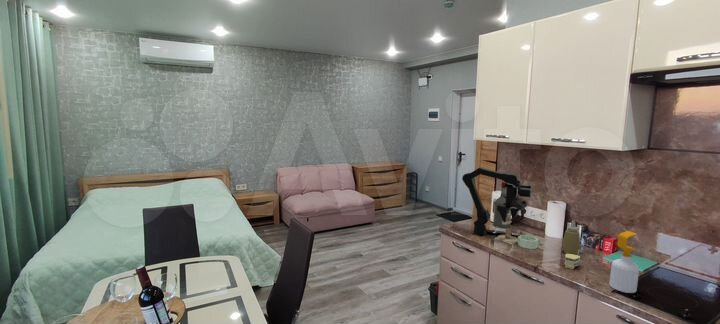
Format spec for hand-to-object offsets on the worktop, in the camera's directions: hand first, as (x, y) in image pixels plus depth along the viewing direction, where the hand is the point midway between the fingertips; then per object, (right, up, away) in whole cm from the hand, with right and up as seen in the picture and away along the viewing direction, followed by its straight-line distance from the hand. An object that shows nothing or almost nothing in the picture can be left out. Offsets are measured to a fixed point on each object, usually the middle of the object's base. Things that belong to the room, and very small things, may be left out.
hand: (508, 221), depth 196 cm
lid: (0, -11, +1) cm, 11 cm away
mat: (0, -11, +2) cm, 12 cm away
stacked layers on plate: (+15, -17, -34) cm, 41 cm away
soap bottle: (+24, -19, -54) cm, 62 cm away
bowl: (+7, -13, -8) cm, 17 cm away
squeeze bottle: (+25, -14, -17) cm, 34 cm away
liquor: (+7, -9, +27) cm, 30 cm away
